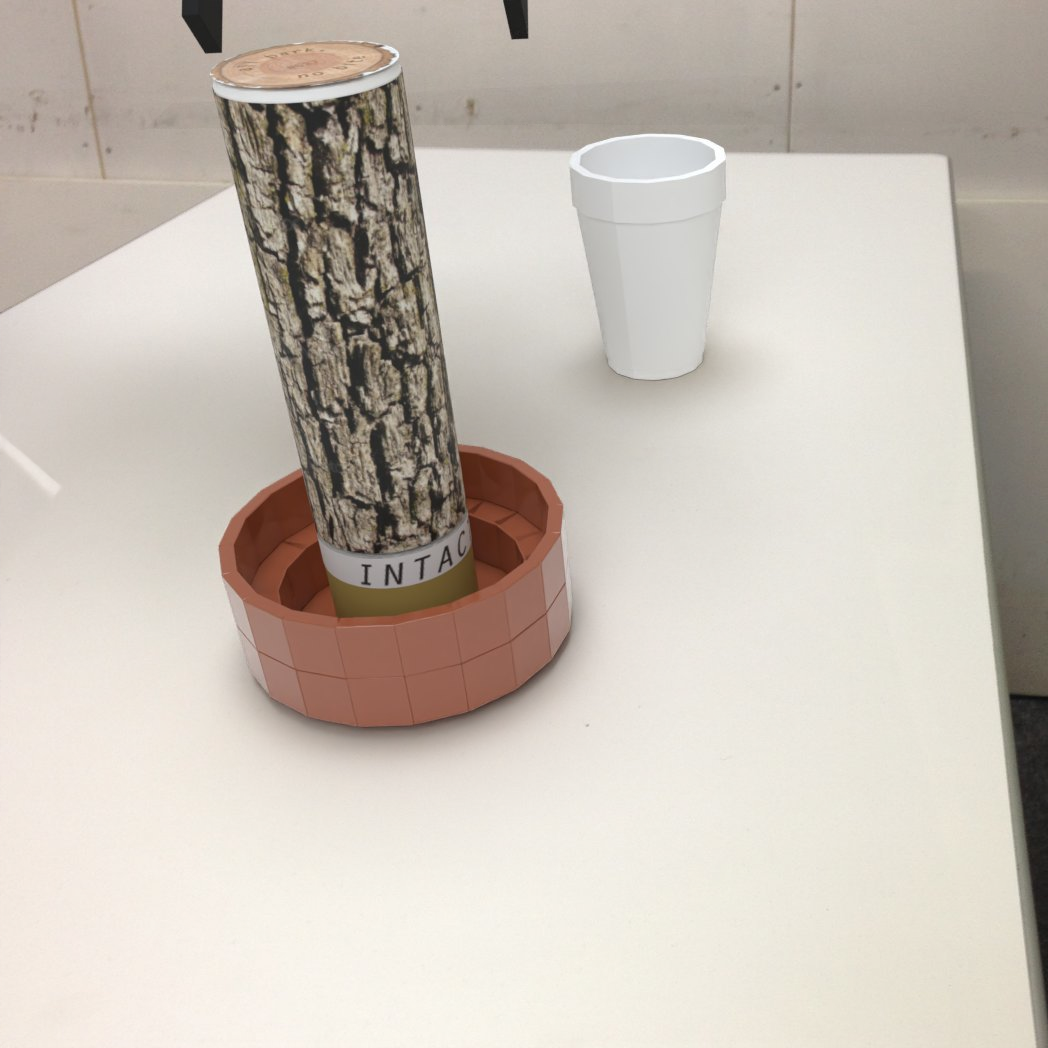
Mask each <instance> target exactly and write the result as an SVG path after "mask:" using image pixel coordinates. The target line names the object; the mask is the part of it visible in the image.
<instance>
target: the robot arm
mask: <svg viewBox="0 0 1048 1048" xmlns="http://www.w3.org/2000/svg"><path fill="white" fill-rule="evenodd" d="M502 3H503V8H504V12H505V17H506V20H507V26H508V30H509V35H510V39H511V41H513V40H529V38H530V37H529V0H502ZM223 4H224V0H181V18H182V19H183V21H184V22H185V24H186V26H187V27H188V29H189V30H190V32H191V34H192V35H193V37H194V38H195V40H196V41H197V43H198V45H199V46H200V48H201V50H202V51H203V53H204V54H205V55H209V54H223V17H224V16H223V14H224V13H223V11H224V9H223V7H224V6H223Z"/></svg>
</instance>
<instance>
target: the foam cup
mask: <svg viewBox="0 0 1048 1048" xmlns="http://www.w3.org/2000/svg"><path fill="white" fill-rule="evenodd" d="M725 151H726V150H725V148H724V147H722V146H720V145H719V144H717V143H715V142H713V141H711V140H709V139H707V138H702V137H701V138H700V137H696V136H691V135H684V134H680V133H679V134H676V133H675V134H673V133H642V134H632V135H624V136H615V137H611V138H608V139H604V140H600V141H597V142H593V143H589V144H586V145H585V146H583V147H581V148H580V149H578V150H577V151H575V152H574V153H572V154H571V155H570V159H569V167H568V168H569V177H570V179H569V181H570V194H571V205H572V207H573V208H575V209H576V214H577V219H578V225H579V229H580V234H581V239H582V244H583V248H584V249H583V250H584V253H585V258H586V263H587V268H588V274H589V279H590V284H591V288H592V294H593V298H594V303H595V308H596V314H597V318H598V322H599V329H600V332H601V337H602V342H603V343H602V344H603V348H604V353H605V356H606V358H607V365H608V367H610V368H611V369H612V370H613V371H614V372H615V373H616V374H618V375H621V376H623V377H627V378H631V379H633V380H646V381H647V380H648V381H660V380H667V379H675V378H679V377H681V376H683V375H687V374H689V373H691V372H694V371H695V370H696V369H697V368H698V367H699V366H700V365H701V364H702V363H703V361H704V360H703V359H704V357H703V356H704V355H703V354H704V353H705V347H706V341H707V340H706V339H707V332H708V323H709V314H710V305H711V299H712V298H711V297H712V289H713V281H714V274H715V265H716V257H717V250H718V249H717V248H718V240H719V234H720V226H721V225H720V224H721V218H722V217H721V215H722V207H723V202H725V200H727V157H726V152H725Z"/></svg>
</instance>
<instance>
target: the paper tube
mask: <svg viewBox="0 0 1048 1048" xmlns="http://www.w3.org/2000/svg"><path fill="white" fill-rule="evenodd" d="M399 58H400V53H399V51H398V50H397V49H396V48H394V47H392V46H389V45H386V44H383V43H379V42H372V41H364V40H344V39H343V40H342V39H341V40H337V39H335V40H317V41H303V42H293V43H287V44H280V45H273V46H269V47H264V48H260V49H254V50H250V51H247V52H243V53H239V54H237V55H234V56H232V57H231V56H230V57H228V58H225V59H224V60H221V61H220V62H218V63H216V64H215V65H214V66H213V67H212V68H211V69H210V71H209V76H210V77H211V79H212V93H213V97H214V102H215V106H216V111H217V115H218V119H219V122H220V127H221V131H222V136H223V140H224V144H225V148H226V154H227V157H228V162H229V165H230V170H231V174H232V179H233V183H234V187H235V191H236V195H237V200H238V204H239V208H240V212H241V216H242V221H243V225H244V230H245V233H246V238H247V242H248V247H249V251H250V255H251V259H252V264H253V267H254V272H255V276H256V280H257V285H258V289H259V293H260V297H261V302H262V306H263V310H264V311H263V312H264V315H265V319H266V323H267V327H268V332H269V336H270V341H271V344H272V349H273V353H274V357H275V363H276V366H277V370H278V375H279V379H280V383H281V387H282V391H283V397H284V400H285V404H286V409H287V412H288V418H289V422H290V426H291V429H292V435H293V438H294V442H295V446H296V451H297V455H298V460H299V464H300V468H302V473H303V477H304V481H305V486H306V490H307V494H308V498H309V503H310V507H311V511H312V515H313V520H314V524H315V528H316V532H317V537H318V541H319V545H320V549H321V554H322V558H323V562H324V565H325V568H326V573H327V577H328V581H329V585H330V590H331V594H332V598H333V602H334V607H335V611H336V615H337V617H338V618H351V617H379V616H396V615H401V614H405V613H410V612H414V611H419V610H423V609H428V608H432V607H437V606H442V605H446V604H449V603H451V602H454V601H456V600H458V599H461V598H463V597H465V596H468V595H470V594H472V593H475V592H477V591H479V588H478V582H477V575H476V568H475V561H474V555H473V548H472V541H471V539H472V538H471V531H470V524H469V517H468V510H467V504H466V497H465V490H464V483H463V477H462V470H461V463H460V456H459V450H458V444H459V443H458V436H457V430H456V423H455V416H454V410H453V402H452V397H451V389H450V383H449V375H448V369H447V362H446V355H445V350H444V342H443V334H442V329H441V321H440V314H439V309H438V302H437V301H438V300H437V295H436V288H435V281H434V274H433V268H432V267H433V266H432V261H431V254H430V247H429V240H428V234H427V233H428V232H427V229H426V228H427V227H426V220H425V214H424V213H425V212H424V208H423V206H424V205H423V199H422V194H421V186H420V180H419V173H418V166H417V159H416V153H415V145H414V140H413V133H412V126H411V120H410V113H409V112H410V111H409V105H408V99H407V92H406V85H405V78H404V72H403V66H402V65H401V63H400V61H399Z"/></svg>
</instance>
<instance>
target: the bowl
mask: <svg viewBox="0 0 1048 1048" xmlns="http://www.w3.org/2000/svg"><path fill="white" fill-rule="evenodd" d="M458 450H459V456H460V463H461V470H462V477H463V483H464V490H465V497H466V504H467V510H468V517H469V524H470V531H471V538H472V539H471V541H472V548H473V555H474V561H475V568H476V575H477V582H478V588H479V591H477V592H475V593H472V594H470V595H468V596H465V597H463V598H461V599H458V600H456V601H454V602H451V603H449V604H446V605H442V606H437V607H432V608H428V609H423V610H419V611H414V612H410V613H405V614H401V615H396V616H379V617H351V618H338V617H337V615H336V611H335V607H334V602H333V598H332V594H331V590H330V585H329V581H328V577H327V573H326V568H325V565H324V562H323V558H322V554H321V549H320V545H319V541H318V537H317V532H316V528H315V524H314V520H313V515H312V511H311V507H310V503H309V498H308V494H307V490H306V486H305V481H304V477H303V473H302V468H301V467H300V468H298V469H296V470H294V471H292V472H290V473H289V474H287V475H285V476H283V477H282V478H280V479H278V480H276V481H274V482H272V483H271V484H269V485H267V486H266V487H264V488H262V489H261V490H260V491H258V492H257V493H256V494H255V495H254V496H253V497H252V498H251V499H250V500H249V501H248V502H246V503H245V505H244V506H243V507H241V508H240V509H239V510H238V511H237V512H236V513H235V514H234V515H233V516H232V517H230V520H229V523H228V525H227V526H226V529H225V531H224V533H223V535H222V537H221V539H220V541H219V544H218V546H217V547H218V548H217V549H218V557H219V566H220V576H221V578H222V579H221V580H222V582H223V585H224V588H225V589H224V590H225V592H226V595H227V599H228V602H229V603H228V604H229V605H230V608H231V613H232V616H233V619H234V623H235V626H236V629H237V632H238V637H239V640H240V643H241V646H242V650H243V653H244V657H245V661H246V663H247V666H248V669H249V672H250V673H251V674H252V676H253V677H254V678H255V680H256V681H257V682H258V684H260V687H262V688H263V690H264V691H265V692H266V694H267V695H268V696H269V698H271V699H273V700H274V701H276V702H278V703H280V704H283V705H284V706H286V707H288V708H290V709H292V710H294V712H298V713H299V714H301V715H303V716H305V717H307V718H311V719H316V720H320V721H326V722H332V723H337V724H342V725H347V726H353V727H358V728H371V727H401V726H414V725H420V724H424V723H428V722H432V721H436V720H441V719H445V718H448V717H449V718H450V717H453V716H458V715H462V714H465V713H469V712H471V711H474V710H476V709H478V708H480V707H482V706H484V705H486V704H489V703H491V702H493V701H495V700H497V699H499V698H501V697H504V696H505V695H507V694H510V693H512V692H514V691H516V690H517V689H519V688H520V687H521V686H523V685H524V684H525V683H526V682H527V681H529V679H531V678H532V677H534V675H536V674H537V673H538V672H539V671H540V670H542V669H543V668H544V667H545V666H546V665H548V664H549V663H550V662H551V661H552V660H553V659H554V657H555V655H556V654H557V652H558V650H559V649H560V647H561V645H562V643H563V642H564V640H565V638H566V637H567V635H568V633H570V629H571V624H572V611H573V591H572V581H571V569H570V561H569V560H570V559H569V549H568V539H567V529H566V528H567V526H566V517H565V506H564V504H563V501H562V500H561V497H560V496H559V494H558V492H557V491H556V488H555V486H554V485H553V483H552V481H551V480H550V479H549V477H547V476H545V475H544V474H543V473H541V472H540V471H538V470H537V469H535V468H534V467H533V466H531V465H530V464H528V462H525V461H524V460H522V459H520V458H517V457H514V456H511V455H508V454H505V453H502V452H499V451H497V450H493V449H491V448H488V447H485V446H477V445H471V444H470V445H469V444H461V443H458Z"/></svg>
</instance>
